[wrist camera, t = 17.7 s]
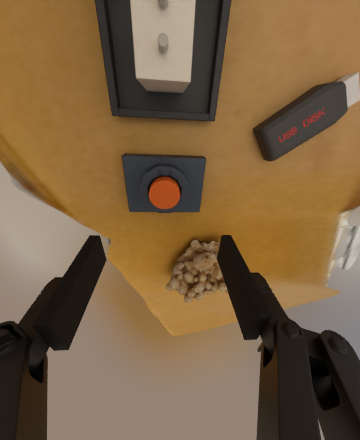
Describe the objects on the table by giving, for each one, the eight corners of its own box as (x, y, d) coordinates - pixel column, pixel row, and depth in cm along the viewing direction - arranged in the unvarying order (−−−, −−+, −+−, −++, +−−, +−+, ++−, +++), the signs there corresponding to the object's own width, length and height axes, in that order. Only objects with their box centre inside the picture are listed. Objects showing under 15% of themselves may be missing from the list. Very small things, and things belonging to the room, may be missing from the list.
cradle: (117, 115, 22) (111, 115, 20) (98, -30, 16) (87, -52, 13) (210, 120, 23) (214, 121, 21) (227, -14, 17) (235, -33, 14)
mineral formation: (235, 267, 39) (180, 291, 42) (213, 223, 35) (152, 252, 37) (250, 294, 32) (182, 321, 34) (224, 242, 27) (147, 278, 29)
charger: (146, 91, 20) (132, 74, 12) (142, 15, 17) (120, -76, 9) (182, 93, 20) (192, 79, 12) (186, 20, 17) (202, -64, 9)
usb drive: (252, 128, 24) (261, 130, 21) (342, 66, 20) (364, 60, 18) (264, 159, 26) (273, 164, 24) (345, 108, 23) (365, 107, 21)
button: (150, 203, 26) (149, 209, 24) (149, 176, 23) (147, 180, 22) (178, 204, 26) (179, 209, 24) (180, 176, 24) (180, 180, 22)
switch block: (131, 207, 29) (127, 217, 26) (124, 153, 24) (118, 158, 21) (197, 207, 30) (201, 217, 27) (204, 156, 25) (208, 161, 22)
